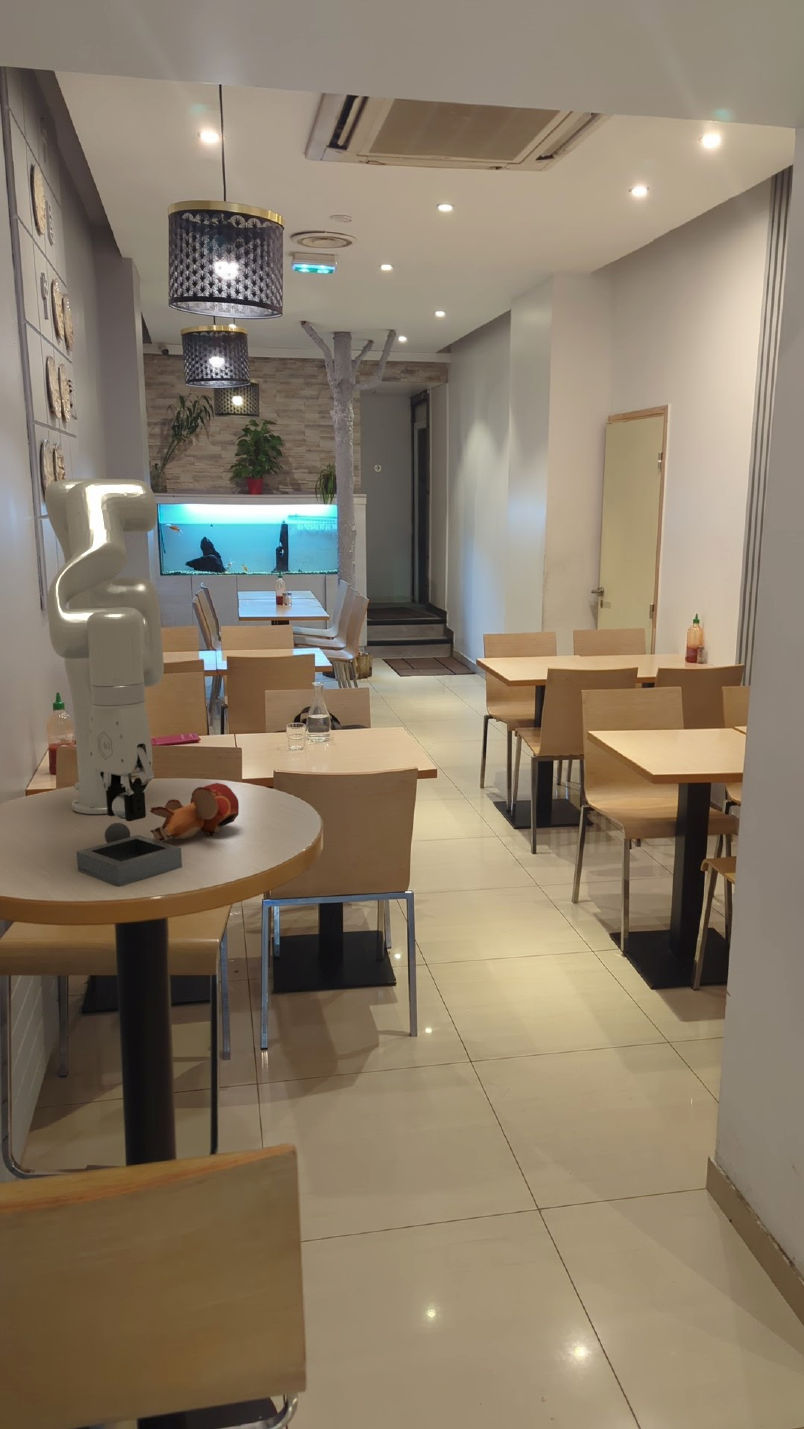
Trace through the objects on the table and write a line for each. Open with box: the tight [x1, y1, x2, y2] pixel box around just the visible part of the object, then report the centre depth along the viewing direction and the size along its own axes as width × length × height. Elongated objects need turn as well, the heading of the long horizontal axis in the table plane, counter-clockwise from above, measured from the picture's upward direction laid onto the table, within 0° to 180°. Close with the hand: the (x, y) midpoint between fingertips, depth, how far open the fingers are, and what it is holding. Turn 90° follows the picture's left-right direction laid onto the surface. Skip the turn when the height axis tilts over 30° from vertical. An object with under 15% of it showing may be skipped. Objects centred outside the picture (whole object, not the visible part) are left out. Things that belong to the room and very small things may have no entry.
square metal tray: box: [76, 834, 183, 887], centre depth 147 cm, size 11×11×3 cm
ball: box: [104, 822, 131, 843], centre depth 158 cm, size 4×4×4 cm
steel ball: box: [112, 793, 127, 820], centre depth 146 cm, size 4×4×4 cm
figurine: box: [149, 782, 240, 842], centre depth 163 cm, size 20×9×15 cm
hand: (126, 815), depth 146 cm, fingers closed on steel ball, 4 cm apart
